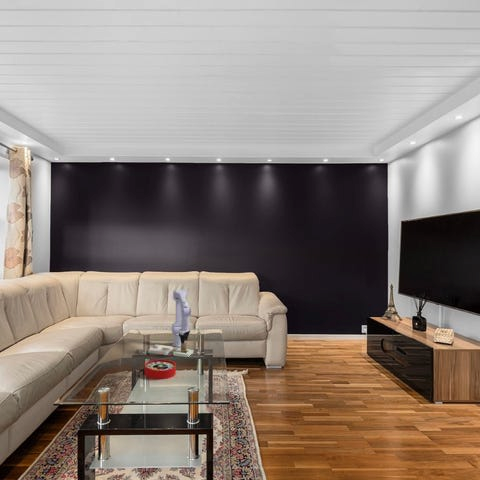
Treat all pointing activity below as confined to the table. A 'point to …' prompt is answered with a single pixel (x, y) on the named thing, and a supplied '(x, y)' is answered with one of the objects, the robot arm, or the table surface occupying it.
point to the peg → (183, 347)
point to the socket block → (160, 349)
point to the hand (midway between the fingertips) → (184, 341)
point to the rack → (187, 354)
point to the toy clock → (160, 369)
